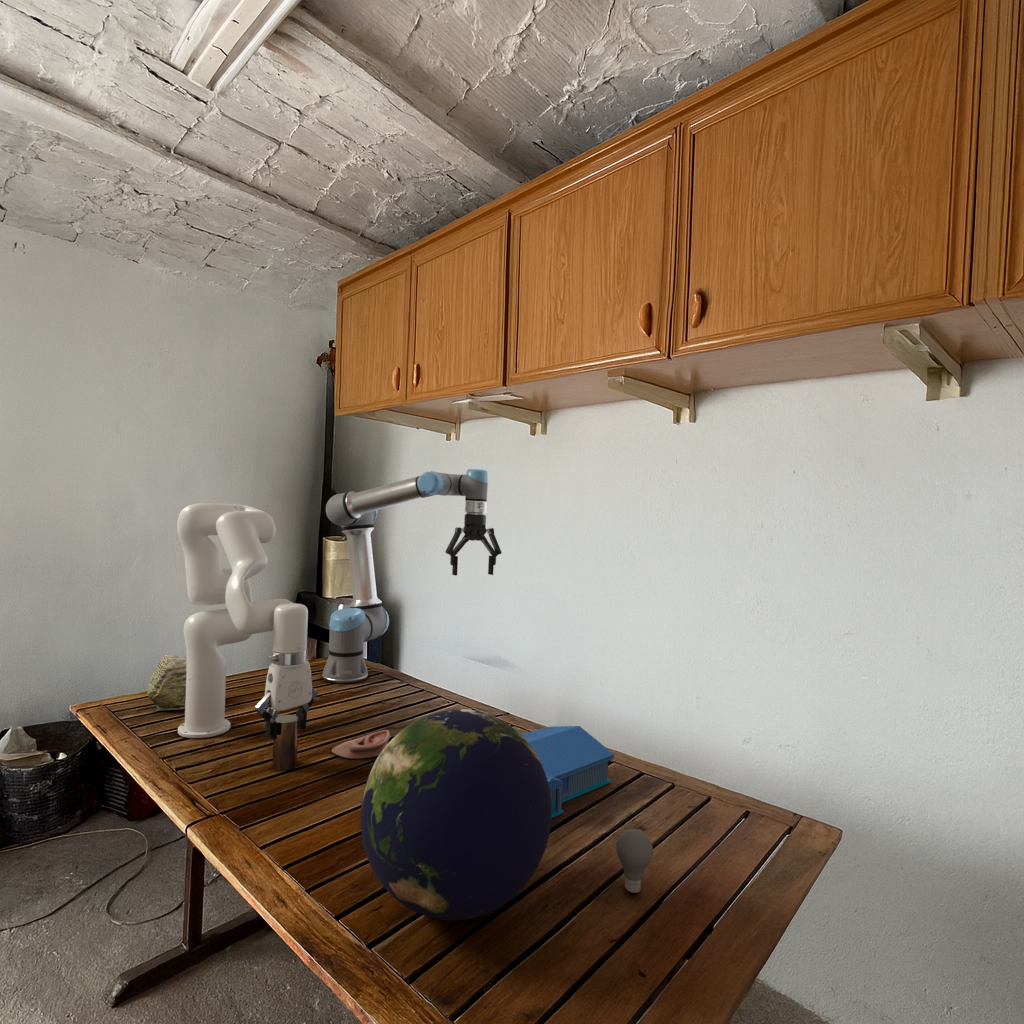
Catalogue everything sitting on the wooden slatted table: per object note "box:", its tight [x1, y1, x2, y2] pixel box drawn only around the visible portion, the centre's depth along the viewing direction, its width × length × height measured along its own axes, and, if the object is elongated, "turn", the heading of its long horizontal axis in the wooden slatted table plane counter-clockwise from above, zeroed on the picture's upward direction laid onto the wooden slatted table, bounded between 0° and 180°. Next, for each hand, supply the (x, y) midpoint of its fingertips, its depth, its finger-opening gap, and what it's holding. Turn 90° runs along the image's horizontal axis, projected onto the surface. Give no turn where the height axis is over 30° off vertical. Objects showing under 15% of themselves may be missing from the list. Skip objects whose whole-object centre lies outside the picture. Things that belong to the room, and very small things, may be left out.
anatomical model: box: [331, 729, 391, 759], centre depth 159 cm, size 13×4×12 cm
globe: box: [360, 708, 553, 922], centre depth 100 cm, size 30×30×30 cm
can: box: [271, 714, 299, 772], centre depth 148 cm, size 5×5×11 cm
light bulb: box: [615, 828, 654, 894], centre depth 106 cm, size 6×6×10 cm
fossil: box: [147, 654, 187, 712], centre depth 185 cm, size 9×18×15 cm, turn 132°
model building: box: [520, 725, 615, 819], centre depth 140 cm, size 39×24×10 cm, turn 132°
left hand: (286, 732), depth 148 cm, fingers open, 7 cm apart
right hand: (472, 574), depth 220 cm, fingers open, 13 cm apart
